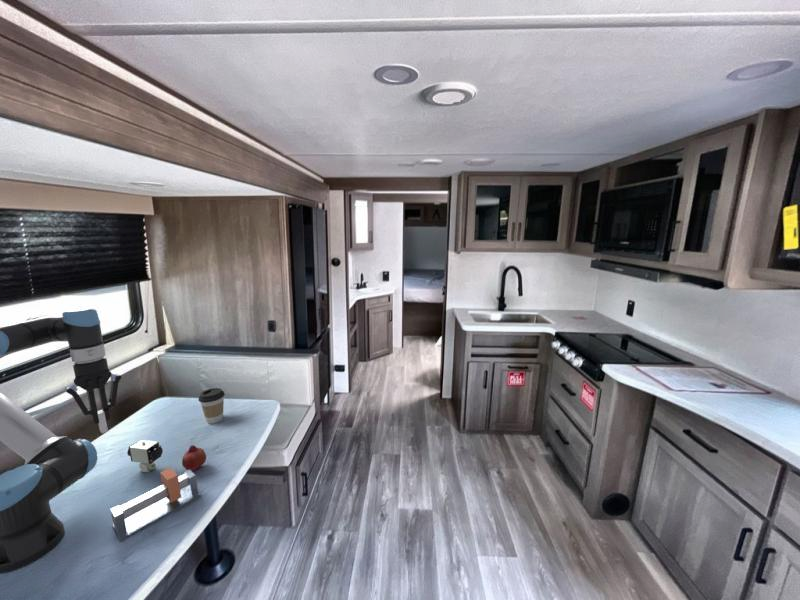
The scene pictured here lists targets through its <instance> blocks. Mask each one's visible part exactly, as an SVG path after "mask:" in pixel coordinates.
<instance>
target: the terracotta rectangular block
mask: <svg viewBox="0 0 800 600" xmlns="http://www.w3.org/2000/svg"><path fill="white" fill-rule="evenodd" d="M178 477H179V476H178V474H177V473H176V472H175V470H174V469H173V468H172V467H169V468H166V469H164V470H162V471H160V478H161V479H160V480H161V484H162V485H163V484H165V485H166V486H167V487H168V493H169V496H168V497H167V499H168V500H169V501H170V502H171V503H172V502H174V501H175V500H177V499H179V498H181V493H180V486H179V480H178Z"/></svg>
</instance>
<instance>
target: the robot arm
mask: <svg viewBox="0 0 800 600" xmlns="http://www.w3.org/2000/svg"><path fill="white" fill-rule="evenodd" d="M103 339H104V338H103V333H102V328H101V320H100V318H99V314H98V310H97V309H95V308H94V307H84V308H81V307H80V308H73V309H68V310H64V311H63V312H62V316H61V315H57V316H56V315H52V316H50V315H40V316H33V317H29V318H28V319H26V320H24V321H20V322H16V323H12V324H8V325H7V324H5V325H1V326H0V359H2V358H5V357H6V356H8V355H11V354H14V353H18V352H21V351H24V350H29V349H31V348H35V347H39V346H42V345H47V344H49V343H54V342H56V343H57V342H67V343H68V348H69V353H70V359H71V362H73V364H72V367H73V372H74V379H73V383H72V384H71V385H69V386H66V387H65V388H64V390H65V392H66V393H67V394H69V395H71V396H72V398H73V399H74V400H75V403H76V404H77V405H78V407H79V409H80V410H81V412H82V414H83V415H84V416H88V415H91V419H92V423H93V424H95V425H97V424H98V428H99V432H100V433H101V434H104V433H106V432H109V430H108V424H107V421H109V420H110V419H111V416H110V409H111V408H113V407H115V406H116V405H117V404H116V403H117V397H118V388H119V382H120V381H121V379H122V375H121V374H119V373H116V374H115V373H112V371H110V369H109V364H108V360H107V357H106V355H107V354H106V349H105V346H104V340H103ZM109 380H110V381H111V383H110V390H109V399H108V398H107V394H106V387H105V386H106V384H108V381H109ZM78 387H79V388H81V389H82V390H85V391H86V395H87V398H88V399H87V400H88V404H89V405H88V406H89V408H87V405H86V404H85V403H84V401H83V399H82V398H81V397H80V395H79V394H78V392H77V391H78ZM96 389H97V392H98V396H99V401H100V405H101V409H99V410H98V408H97V407H98V406H97V402H96V396H95V391H94V390H96ZM0 442H1V443H3V444H4V445H5V446H7V448H9V449H11V450H12V451H13V452H14V453H16V454H17V455H18V456H20V457H21V458H22V459H24V460H25V461H24V464H23V465H20V466H17V467H15V468H14V469H9V470H7V471H5V472H3V473H1V474H0V574H6V573H9V572H14V571H17V570H19V569H21V568H24V567H26V566H28V565H30V564H32V563H34V562H36V561H38V560H39V559H41V558H42V557H44V556H46V555H47V554H48V553H49V552H51V551H52V550H53V549H54V548H56V547H57V546H58V545H59V543H61V541H62V540H63V539H64V537H65V534H66V529H65V526H64V523H63V522H62V521H61V519H59V518H58V517H57V516H56V515H55V514H54V513H53V512H52V509H51V503H50V502H51V500H53V499H54V498H55V497H56V496H58V495H60V494H61V493H62V492H64V491H65V490H66V489H68V488H70V486H72V485H74V483H76V482H77V481H79V480H81V479H83V478H84V477H86V475H88V474H89V472H91V471H92V470H93V469H94V468H95V467H96V465H97V462H98V451H97V449H96V447H95V445H94V444H93V443H92V442H91V441H89V440H88V439H85V438H78V439H74V440H72V439H71V438H70V437H68V436H67V435H65V436H64V435H63V436H57V435H56V434H55V433H53V432H52V431H51V430H50V429H48V428H47V427H46V426H45V425H43V424H41V423H40V422H39V421H38V420H37V419H35V418H34V417H33V416H32V415H31V414H29V413H28V412H26V411H25V410H24V409H23V408H22V407H20V406H19V405H18V404H16V403H15V402H13V401H12V399H10V398H9V397H7V396H6V395H4V394H3V393H2V392H1V391H0Z"/></svg>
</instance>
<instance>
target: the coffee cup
mask: <svg viewBox="0 0 800 600" xmlns="http://www.w3.org/2000/svg"><path fill="white" fill-rule="evenodd" d="M225 394H226V393H225V391H223V390H222V388H219V387H214V388H209V389H205V390H204V391H202V392H200V395H199V396H198V402H200V405H201V409H202V412H203V415H204V418H205V419H204V420H205V421H206V424H209V425H213V424H218V423H220V422H221V421H223V420H224V405H225V404H224V402H225V401H224V400H225V397H224V396H225Z"/></svg>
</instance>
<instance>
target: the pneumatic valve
mask: <svg viewBox="0 0 800 600" xmlns="http://www.w3.org/2000/svg"><path fill="white" fill-rule="evenodd" d="M163 451H164V450H163V447H162V445H160V442H159V441H155V440H154V439H148V440H142V439H139V440H138V441H136V442H135V443H133V444H131V445H130V446H128V450H127V456H128V457H130V462H131V463H132V462H133V463H139V469H140V472H141V473H142V472H143V473H150V472H151V471H153V470H154V469H156V466H157V465H156V461H157V460H159V459H160V458H161V457H162V454H163Z"/></svg>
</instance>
